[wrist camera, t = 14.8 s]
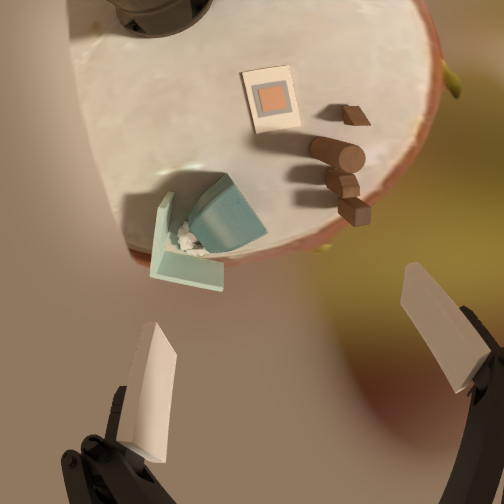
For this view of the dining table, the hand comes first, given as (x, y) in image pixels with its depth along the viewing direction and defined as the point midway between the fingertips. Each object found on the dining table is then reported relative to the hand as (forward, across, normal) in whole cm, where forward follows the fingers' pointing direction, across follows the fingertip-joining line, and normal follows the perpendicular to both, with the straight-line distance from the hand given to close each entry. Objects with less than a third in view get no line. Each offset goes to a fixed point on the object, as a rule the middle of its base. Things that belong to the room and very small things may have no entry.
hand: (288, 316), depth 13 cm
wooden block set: (+33, +14, -1) cm, 36 cm away
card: (+33, +6, +10) cm, 35 cm away
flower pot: (+27, -10, -7) cm, 30 cm away
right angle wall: (+33, -11, -9) cm, 36 cm away
